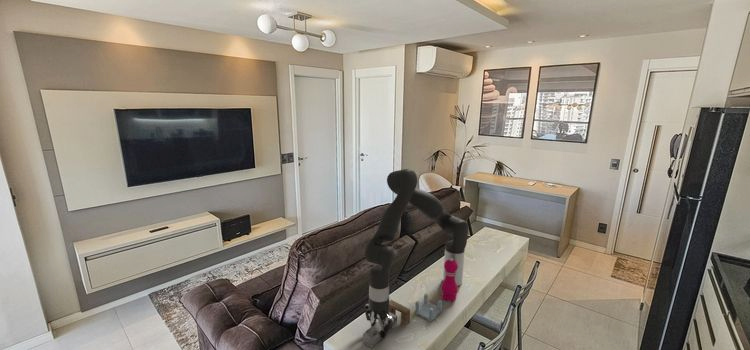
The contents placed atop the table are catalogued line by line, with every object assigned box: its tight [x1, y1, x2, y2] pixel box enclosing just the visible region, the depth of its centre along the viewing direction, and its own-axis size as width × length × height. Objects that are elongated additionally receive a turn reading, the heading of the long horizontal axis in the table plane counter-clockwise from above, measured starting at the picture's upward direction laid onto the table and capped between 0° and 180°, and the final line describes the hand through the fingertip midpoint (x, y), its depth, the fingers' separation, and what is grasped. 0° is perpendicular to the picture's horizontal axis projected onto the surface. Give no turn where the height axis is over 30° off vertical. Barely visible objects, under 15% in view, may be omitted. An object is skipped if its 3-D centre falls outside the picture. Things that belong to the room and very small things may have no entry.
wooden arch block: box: [388, 299, 411, 327], centre depth 129 cm, size 3×10×6 cm, turn 49°
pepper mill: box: [440, 257, 459, 302], centre depth 141 cm, size 7×7×20 cm
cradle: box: [413, 293, 443, 322], centre depth 133 cm, size 9×8×5 cm
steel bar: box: [362, 312, 398, 349], centre depth 121 cm, size 16×4×4 cm, turn 141°
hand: (378, 334), depth 120 cm, fingers closed on steel bar, 4 cm apart
